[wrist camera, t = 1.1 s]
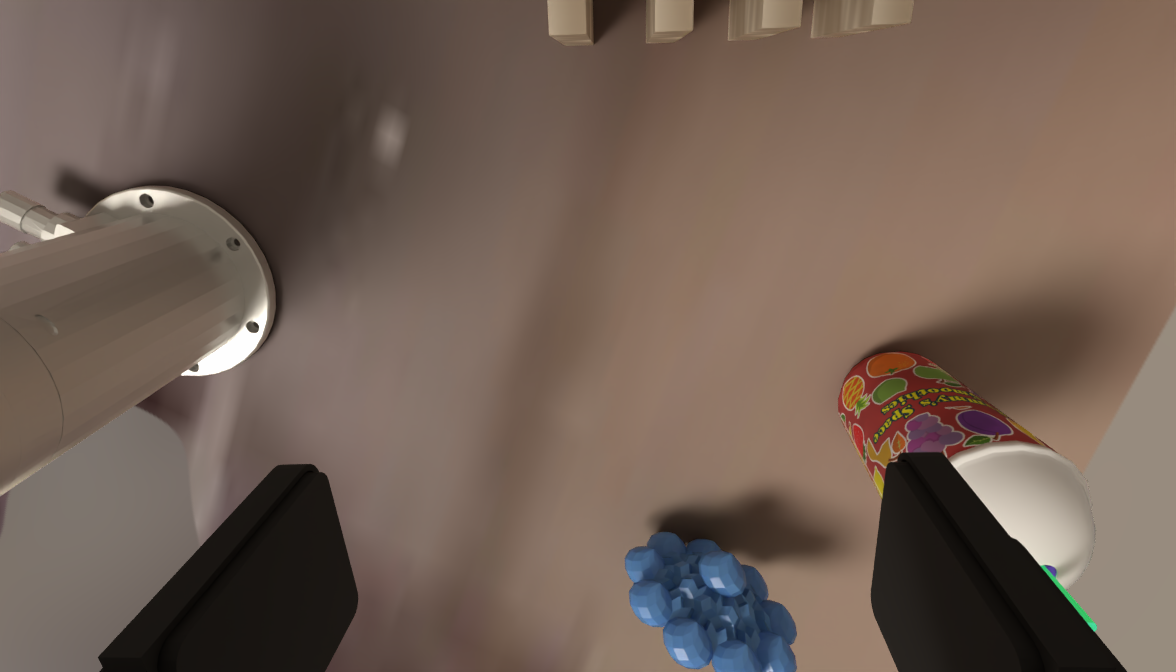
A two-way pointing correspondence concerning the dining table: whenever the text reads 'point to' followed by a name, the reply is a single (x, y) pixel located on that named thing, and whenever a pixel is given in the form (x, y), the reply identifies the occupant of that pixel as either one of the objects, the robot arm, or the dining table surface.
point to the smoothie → (973, 456)
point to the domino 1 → (571, 21)
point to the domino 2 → (668, 20)
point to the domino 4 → (858, 16)
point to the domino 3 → (762, 18)
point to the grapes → (709, 607)
